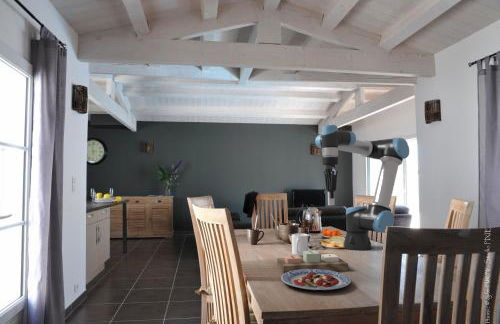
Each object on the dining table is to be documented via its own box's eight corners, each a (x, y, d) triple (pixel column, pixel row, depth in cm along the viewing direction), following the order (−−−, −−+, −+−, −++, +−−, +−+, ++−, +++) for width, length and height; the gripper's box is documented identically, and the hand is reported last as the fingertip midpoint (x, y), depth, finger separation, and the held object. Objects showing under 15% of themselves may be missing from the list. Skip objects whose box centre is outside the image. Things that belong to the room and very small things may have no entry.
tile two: (315, 260, 155) (315, 250, 156) (320, 263, 149) (319, 253, 150) (303, 261, 155) (302, 250, 155) (306, 264, 149) (306, 253, 149)
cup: (309, 253, 181) (308, 233, 182) (305, 258, 170) (305, 237, 170) (293, 252, 184) (293, 233, 184) (289, 257, 172) (288, 236, 173)
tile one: (334, 263, 156) (333, 253, 156) (339, 267, 150) (338, 256, 150) (321, 264, 156) (321, 254, 156) (325, 267, 150) (325, 257, 150)
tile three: (297, 265, 154) (297, 255, 155) (301, 268, 148) (300, 258, 149) (284, 265, 154) (284, 255, 154) (287, 269, 148) (287, 258, 148)
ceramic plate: (303, 271, 148) (303, 263, 148) (361, 281, 131) (361, 273, 131) (267, 285, 128) (267, 277, 128) (331, 300, 111) (331, 291, 112)
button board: (336, 262, 160) (336, 256, 161) (348, 270, 147) (347, 263, 147) (277, 264, 157) (277, 258, 157) (283, 273, 143) (283, 265, 144)
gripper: (318, 157, 174) (319, 204, 173) (327, 155, 161) (328, 206, 160) (332, 157, 175) (334, 204, 174) (342, 155, 162) (343, 206, 161)
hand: (331, 205), depth 167 cm, fingers closed
